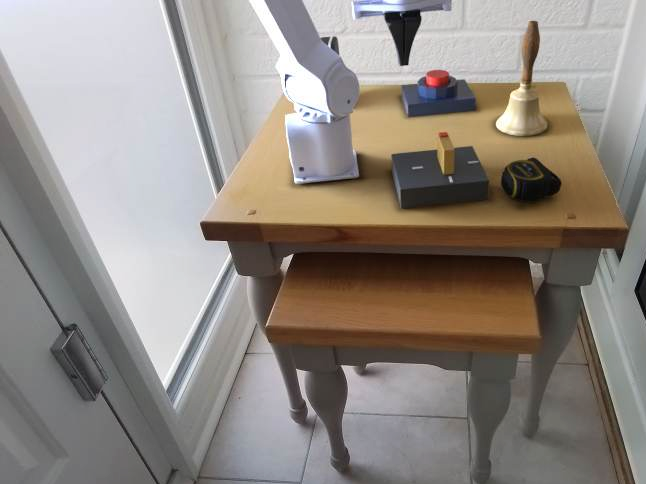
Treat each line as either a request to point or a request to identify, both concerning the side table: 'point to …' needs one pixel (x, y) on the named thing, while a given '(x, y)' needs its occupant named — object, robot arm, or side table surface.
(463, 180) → the plate
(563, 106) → the side table surface
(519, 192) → the tape measure
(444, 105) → the button base
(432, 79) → the bell button
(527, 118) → the hand bell
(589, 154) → the side table surface
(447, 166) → the lock knob
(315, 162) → the robot arm
